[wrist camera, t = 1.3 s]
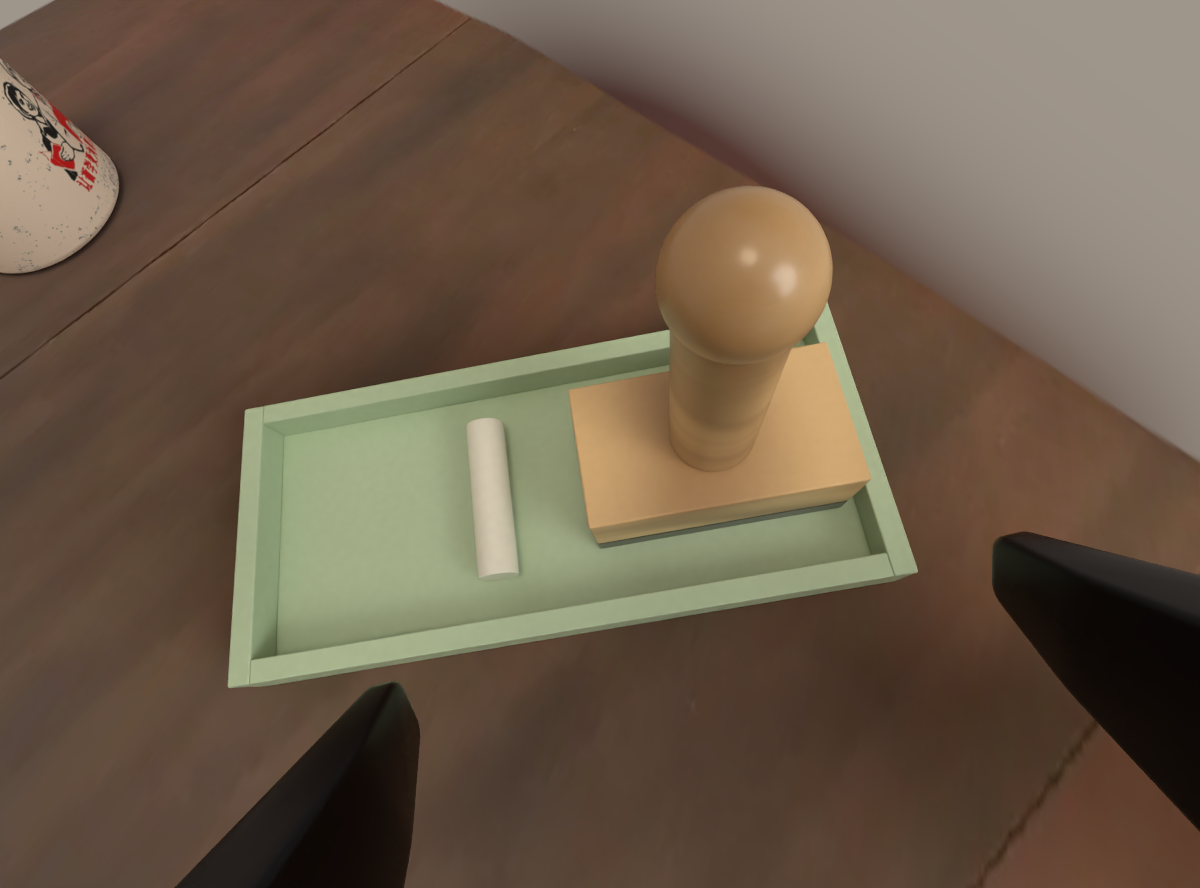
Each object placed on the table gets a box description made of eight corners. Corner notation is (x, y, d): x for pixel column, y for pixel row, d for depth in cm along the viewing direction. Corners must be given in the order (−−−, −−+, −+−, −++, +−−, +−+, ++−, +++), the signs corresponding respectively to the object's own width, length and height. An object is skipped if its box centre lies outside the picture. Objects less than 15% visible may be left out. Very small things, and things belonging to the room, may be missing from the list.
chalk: (460, 421, 23) (498, 414, 23) (472, 435, 25) (508, 428, 25) (472, 577, 21) (514, 570, 21) (484, 583, 23) (523, 576, 22)
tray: (813, 329, 26) (826, 299, 23) (894, 581, 22) (919, 572, 20) (278, 429, 27) (244, 409, 24) (268, 686, 23) (226, 688, 21)
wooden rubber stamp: (804, 386, 24) (963, 64, 11) (841, 507, 22) (1081, 291, 9) (581, 427, 24) (484, 162, 11) (600, 549, 23) (511, 397, 10)
